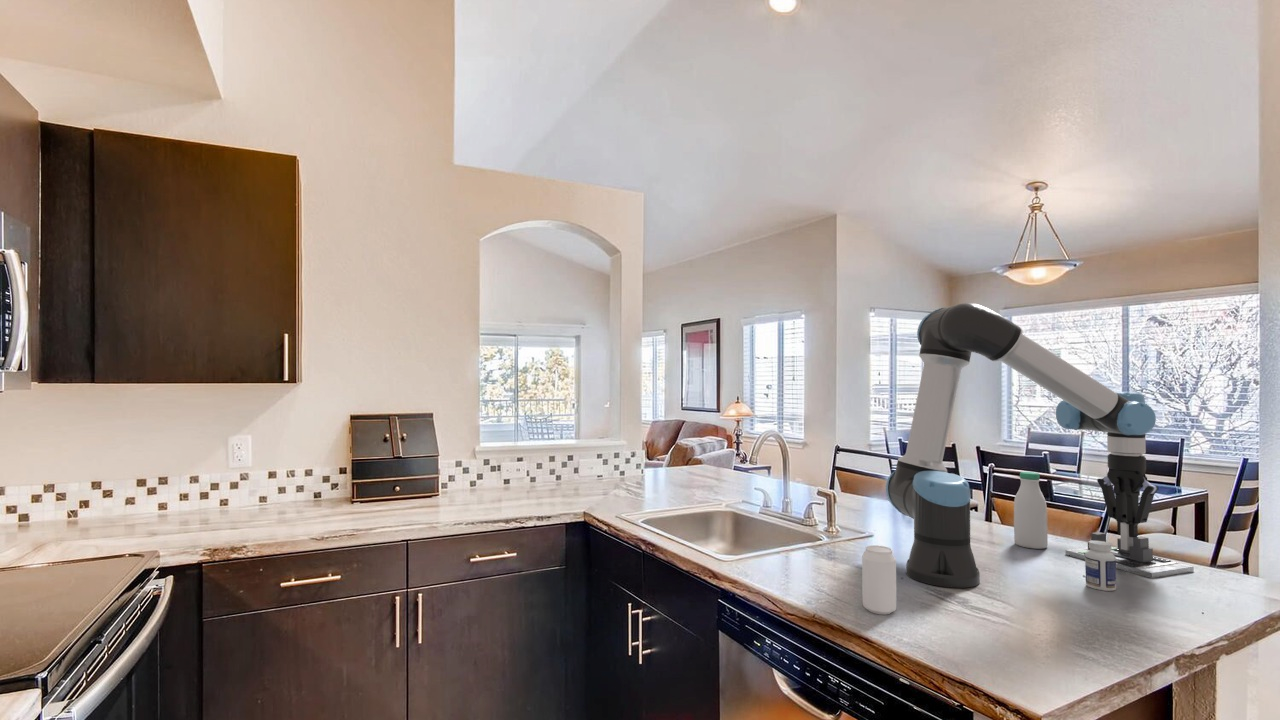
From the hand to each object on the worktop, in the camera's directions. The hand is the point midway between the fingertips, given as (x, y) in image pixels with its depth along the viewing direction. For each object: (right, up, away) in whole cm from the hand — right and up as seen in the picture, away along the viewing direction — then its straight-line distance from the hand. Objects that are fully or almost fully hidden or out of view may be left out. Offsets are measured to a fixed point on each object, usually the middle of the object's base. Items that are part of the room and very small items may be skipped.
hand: (1127, 549), depth 152 cm
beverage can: (-74, -2, -32) cm, 81 cm away
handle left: (-6, -2, +1) cm, 7 cm away
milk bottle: (-14, -4, +16) cm, 22 cm away
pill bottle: (-20, -3, -18) cm, 27 cm away
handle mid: (+1, -2, -3) cm, 3 cm away
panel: (0, -4, 0) cm, 4 cm away
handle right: (+4, -2, +5) cm, 7 cm away
